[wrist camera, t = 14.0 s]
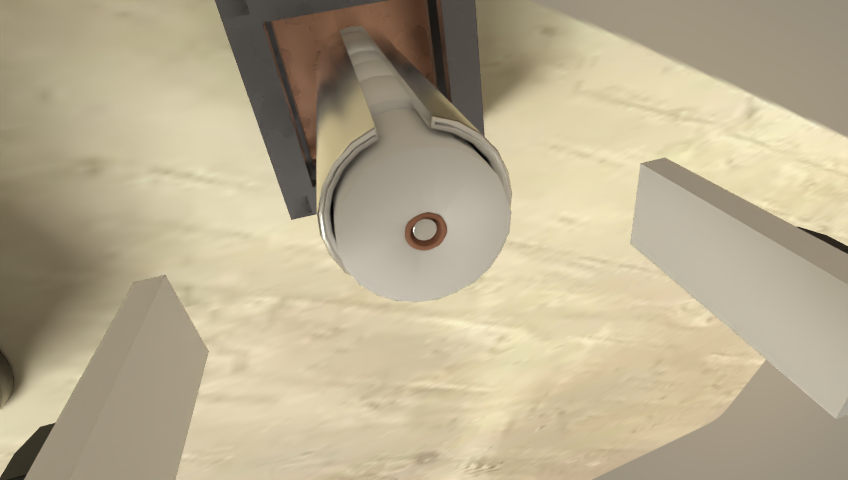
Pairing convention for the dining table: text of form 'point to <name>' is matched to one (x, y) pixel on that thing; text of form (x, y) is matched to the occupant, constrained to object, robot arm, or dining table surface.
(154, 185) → the dining table surface
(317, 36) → the collar stand
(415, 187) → the white tall cylinder
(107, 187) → the dining table surface
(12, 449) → the dining table surface
